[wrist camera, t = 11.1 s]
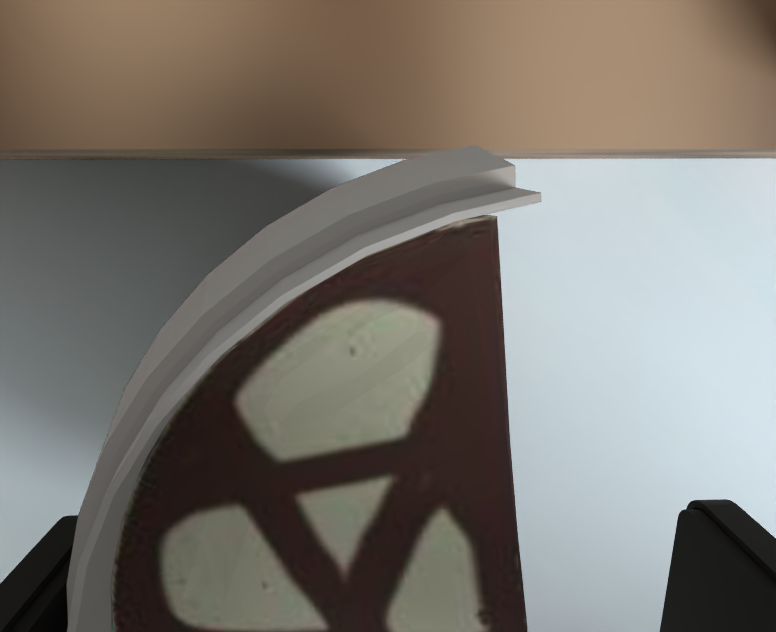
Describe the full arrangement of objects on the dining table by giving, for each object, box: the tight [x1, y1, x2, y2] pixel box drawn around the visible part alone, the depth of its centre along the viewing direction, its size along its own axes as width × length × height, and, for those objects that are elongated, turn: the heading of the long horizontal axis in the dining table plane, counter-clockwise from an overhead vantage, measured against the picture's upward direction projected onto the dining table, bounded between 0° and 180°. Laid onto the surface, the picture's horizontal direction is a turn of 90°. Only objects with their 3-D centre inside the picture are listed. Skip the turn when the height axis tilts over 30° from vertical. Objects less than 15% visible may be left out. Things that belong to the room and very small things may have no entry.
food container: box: [67, 145, 541, 632], centre depth 11 cm, size 12×6×10 cm, turn 6°
